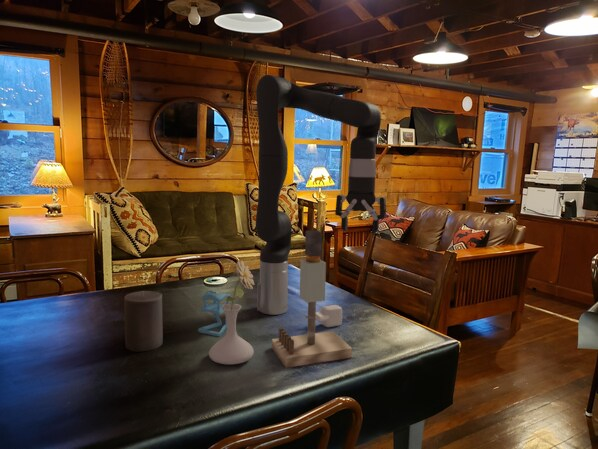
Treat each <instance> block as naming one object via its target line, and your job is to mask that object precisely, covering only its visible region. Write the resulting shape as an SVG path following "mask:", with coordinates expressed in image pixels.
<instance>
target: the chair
mask: <svg viewBox="0 0 598 449" xmlns="http://www.w3.org/2000/svg"><path fill="white" fill-rule="evenodd" d="M231 295H232V294H231V293H229V294H228V293H225V292H222V293H219V294H217V291H213V290H208V291H206V292H205V293H204V294H202V296H201V297H202V300H203V306H202V307H201V308H200V311H201V312H206V313H212V314H213V316H214V317H215V318H214V319H216V321H217V322H214V323H211V324H208V325H204V326H201V327H199V328H198V329H197V330H198V333H201V334H206V335H208V336H209V335H211V336H214V337H219V338H220V337H221V336H223V334H224V333H225V331H227V321H226V318H225V320H224V321H225V322H224V324H223V321H222V320H221V318H220V316H219V315H222V314H225V313H224V311H223V310H222V309H221V306H223V305H225V303H221V302H222V301H223V300H224V299H225V298H227V297H228V296H230V297H231ZM207 300H211V301H213V302H211V303H210V304H208V301H207ZM225 301H226V304H230V301H227V300H225ZM221 326H222V328H221V329H220V331H219V332H218V331H213V330H210V329H213V328H217V327H221Z"/></svg>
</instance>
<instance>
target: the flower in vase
mask: <svg viewBox="0 0 598 449" xmlns="http://www.w3.org/2000/svg"><path fill="white" fill-rule="evenodd" d="M235 268H236V271H235V272H236V273H237V277H238V280H237V282H236V285H235V287H234V292H233V295H232V297H231V295H230V296H228V297H226V299H225V301H229V302H231V303H229V304H225V303H224V304H225V305H223V306H221V309H222V310H223V311H224V313H223V314H224V315H225V319H226V321H227V329H226V333H225V335H224V336H223V337H222V338H220V339H219V340H218V341H217V342H216V343H214V344H213V345H212V346H211V347H210V350H209V351H208V357H209V358H210V359H211V361H213V362H214V363H217V364H221V365H238V364H242V363H245V362H247V361H249V360H251V359H252V357H253V356H254V354H255V351H254V347H253V346H252V345H251V344H250V343H249V342H248V341H246V340H245V339H244V338H242V337H241V336H239V335H238V333H237V325H236V324H237V317H238V315H239V314H238V313H239V312H240V310H241V309H242V305H240V304H239V303H234V300H236V299H237V298H239V299H242V298H243V296H244V294H245V292H244V291H243V289H241V288H240V287H238V285H239V284H240V283H241V285H243V286H244V288H245V289H247V290H254V288H253V286H255V282H254V275H253V274H252V272H251V271H250V270H249V268H250V267H249V265H245V263H244V261H243V260H240V261H239V260H237V262H236V266H235ZM237 287H238V288H237ZM235 296H236V297H237V298H236V297H235Z"/></svg>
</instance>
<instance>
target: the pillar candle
mask: <svg viewBox="0 0 598 449" xmlns="http://www.w3.org/2000/svg"><path fill="white" fill-rule="evenodd" d="M123 302H124V338H125V346H124V347H125V348H126V349H127V350H128V351H131V352H135V353H138V352H148V351H153V350H156V349H158V348H159V347H161V346H162V345H163V342H164V338H163V337H164V334H163V333H164V332H163V330H164V329H163V328H164V327H163V325H164V324H163V294H162V293H160V292H158V291H154V290H153V291H151V290H141V291H135V292H134V291H133V292H131V293H127V294H126V295H125V296H124V301H123Z"/></svg>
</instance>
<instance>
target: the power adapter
mask: <svg viewBox="0 0 598 449" xmlns="http://www.w3.org/2000/svg"><path fill="white" fill-rule="evenodd" d="M305 318H306V319H308V315H305ZM315 321H317V322H320V323H321V325H323V327H325V328H333V327H338V326H341V325H342V324H343V323H342V322H343V308H342V307H341V306H339V305H338V304H331V305H323V306H322V307H321V310H319V311H316V319H315Z"/></svg>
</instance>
